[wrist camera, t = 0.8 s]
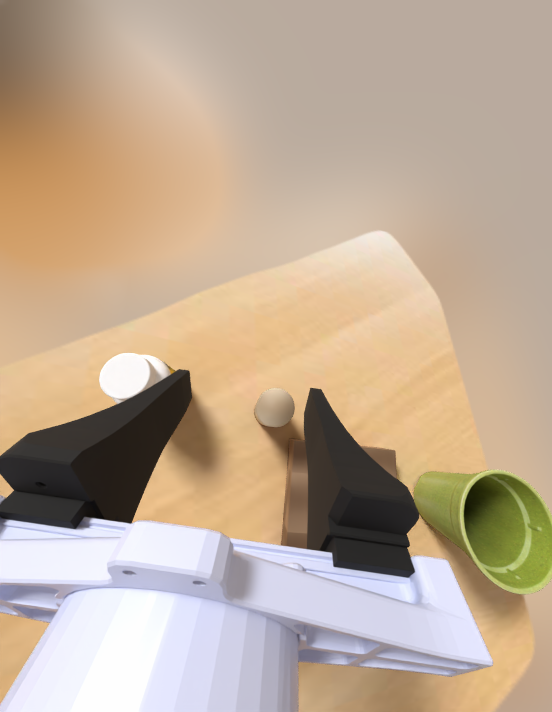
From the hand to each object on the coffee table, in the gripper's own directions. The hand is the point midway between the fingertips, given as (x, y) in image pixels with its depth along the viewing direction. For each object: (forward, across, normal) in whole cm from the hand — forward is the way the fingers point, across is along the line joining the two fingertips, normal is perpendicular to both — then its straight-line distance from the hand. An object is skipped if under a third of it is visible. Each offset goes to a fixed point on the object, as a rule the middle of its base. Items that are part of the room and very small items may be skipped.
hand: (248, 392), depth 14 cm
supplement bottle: (+11, +12, +11) cm, 19 cm away
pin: (+11, -1, +12) cm, 16 cm away
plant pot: (+7, -23, +19) cm, 31 cm away
